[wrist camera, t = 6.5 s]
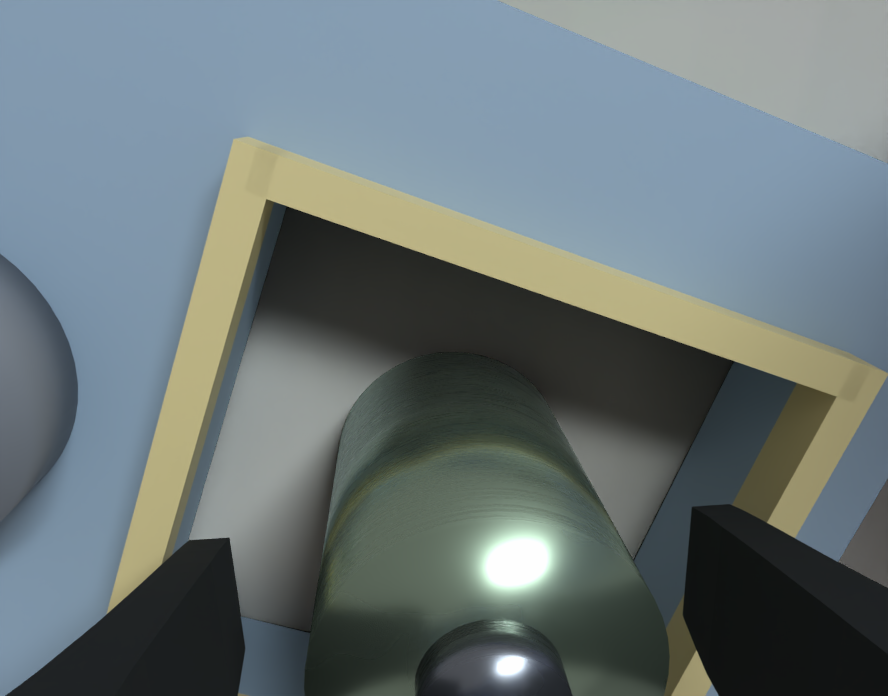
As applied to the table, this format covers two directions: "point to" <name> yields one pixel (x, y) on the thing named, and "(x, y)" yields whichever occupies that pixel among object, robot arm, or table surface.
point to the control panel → (409, 225)
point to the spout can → (473, 551)
